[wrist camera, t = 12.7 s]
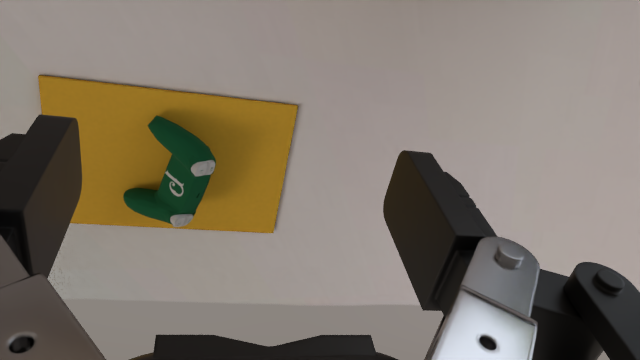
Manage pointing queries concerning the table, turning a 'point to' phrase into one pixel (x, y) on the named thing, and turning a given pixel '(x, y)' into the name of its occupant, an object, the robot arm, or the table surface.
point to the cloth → (152, 157)
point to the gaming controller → (175, 176)
